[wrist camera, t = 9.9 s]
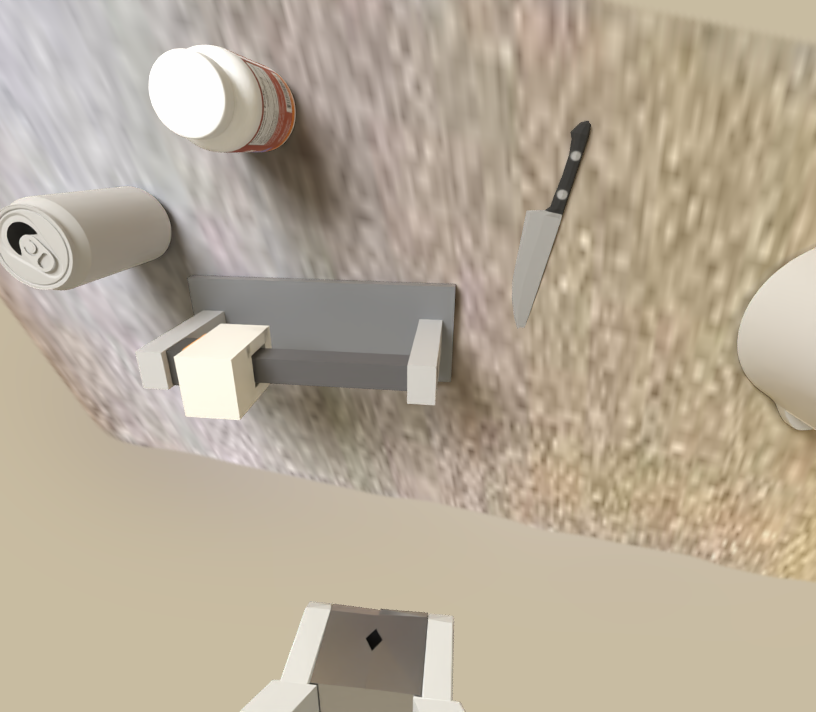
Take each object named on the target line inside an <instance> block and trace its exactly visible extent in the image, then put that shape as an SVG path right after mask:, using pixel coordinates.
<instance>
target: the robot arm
mask: <svg viewBox="0 0 816 712" xmlns="http://www.w3.org/2000/svg"><path fill="white" fill-rule="evenodd" d="M737 349H738V356H739V360H740V364H741V366H742V369H743V371H744V373H745V374H746V376H747V377H748V379H749V380H750V381H751V382H752V383H753V384H754V385H755V386H756V387H757V388H758V389H759V390H761V391H762V392H763V393H765V394H766V395H767V396H769V397H770V398H771V399H772V400H773V401H774V402H775V404H776V406H777V409H778V411H779V413H780V415H781V417H782V419H783V420H784V422H785V423H787V424H788V425H790V426H791V427H793V428H795V429H797V430H813V429H814V430H816V248H814V249H812V250H810V251H808V252H806V253H804V254H802V255H800V256H798V257H797V258H795V259H793V260H792V261H790V262H789V263H787V264H786V265H784V266H783V267H782V268H781V269H779V270H778V271H777V272H776V273H774V274H773V275H772V276H771V277H770V278H769V279H768V280H767V281H766V282H765V283H764V284H763V285H762V287H761V288H760V289H759V290H758V292H757V293H756V294H755V296H754V297H753V299H752V300H751V302H750V303H749V305H748V307H747V309H746V311H745V313H744V315H743V318H742V321H741V324H740V328H739V332H738V340H737ZM453 642H454V618H453V616H449V615H437V614H429V615H428V613H423V612H412V611H399V610H389V609H381V610H376V609H369V608H362V607H354V606H346V605H338V604H330V603H321V602H312V601H310V602H309V604H308V605H307V607H306V608H305V611H304V614H303V617H302V619H301V622H300V625H299V628H298V631H297V634H296V637H295V639H294V642H293V645H292V648H291V651H290V654H289V657H288V660H287V662H286V665H285V668H284V671H283V674H282V677H281V679H280V680H272V681H271V682H270V683H269V684H268V685H267V686H266V687H265V688H264V689H263V690H262V691H261V692H260V693H258V694H257V696H255V697H254V698H253V699H252V700H251V701H250V702H249V703H248V704H247V705H246V706H245V707H244V708H243V709H242V710H241V711H239V712H465V710H464V708H463V706H462V704H461V702H458V701H452V698H453V697H452V696H453V648H454V643H453Z"/></svg>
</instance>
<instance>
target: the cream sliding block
mask: <svg viewBox="0 0 816 712" xmlns="http://www.w3.org/2000/svg"><path fill="white" fill-rule="evenodd" d="M259 348H272V346H271V337H270V328H269V326H265V325H242V324H220V325H218V326H217V327H215V328H214V329H213V330H211V331H210V332H208V333H207V334H205V335H204V336H203V337H201V338H200V339H198V340H197V341H195V342H194V343H193V344H191V345H190V346H188V347H187V348H186V349H184V350H183V351H181V352H180V353H178V354H177V355H176V356H174V361H175V366H176V371H177V376H178V380H179V385H180V390H181V395H182V400H183V405H184V410H185V415H186V417H201V418H217V419H232V420H240V419H241V418H242V417H243V416H244V415H245V413H246V412H247V411H248V410H249V409H250V408H251V406H252V405H253V404H254V403H255V402H256V400H257V399H258V398H259V397H260V396H261V394H262V393H263V392H264V391H265V390H266V388H267V387H268V386H269V385H270V384H271V383H256V382H255V381H254V373H253V365H252V358H251V356H252V355H253V354H254V353H255V352H256V351H257V350H258V349H259Z"/></svg>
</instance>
